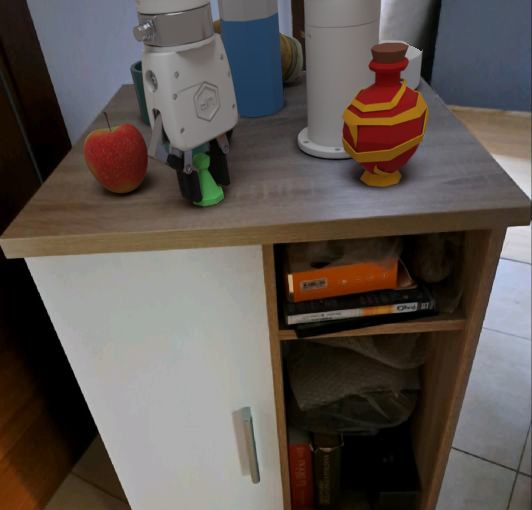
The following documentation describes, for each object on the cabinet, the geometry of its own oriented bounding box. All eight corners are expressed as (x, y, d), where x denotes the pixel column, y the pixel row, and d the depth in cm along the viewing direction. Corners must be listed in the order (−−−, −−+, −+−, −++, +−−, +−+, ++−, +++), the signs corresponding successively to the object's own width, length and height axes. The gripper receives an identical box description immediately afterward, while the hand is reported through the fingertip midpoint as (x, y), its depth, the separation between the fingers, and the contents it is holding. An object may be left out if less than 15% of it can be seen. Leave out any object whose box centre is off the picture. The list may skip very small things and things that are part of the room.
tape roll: (318, 81, 97) (317, 48, 93) (395, 66, 99) (397, 33, 95) (350, 108, 86) (350, 72, 82) (435, 90, 88) (440, 54, 84)
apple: (96, 207, 67) (70, 130, 60) (97, 182, 72) (73, 108, 66) (157, 196, 67) (138, 118, 61) (153, 171, 73) (135, 98, 66)
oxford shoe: (316, 31, 91) (271, 15, 84) (300, 92, 96) (256, 82, 89) (221, 8, 107) (176, -7, 99) (212, 62, 112) (168, 51, 104)
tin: (213, 110, 90) (205, 57, 84) (170, 130, 85) (158, 75, 79) (174, 102, 95) (164, 51, 90) (131, 120, 90) (117, 68, 84)
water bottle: (285, 97, 92) (275, -82, 75) (281, 116, 85) (269, -77, 68) (235, 100, 93) (213, -76, 76) (227, 118, 86) (201, -70, 69)
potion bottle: (430, 192, 62) (449, 55, 51) (344, 199, 62) (346, 64, 52) (413, 157, 69) (427, 31, 59) (337, 163, 70) (338, 39, 60)
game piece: (187, 206, 65) (178, 160, 61) (196, 190, 68) (187, 145, 64) (220, 206, 64) (212, 159, 60) (227, 190, 67) (220, 144, 63)
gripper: (137, 52, 46) (178, 228, 59) (257, 11, 55) (270, 172, 68) (89, 45, 50) (137, 211, 63) (208, 7, 59) (230, 160, 71)
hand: (206, 189), depth 65 cm, fingers open, 4 cm apart
